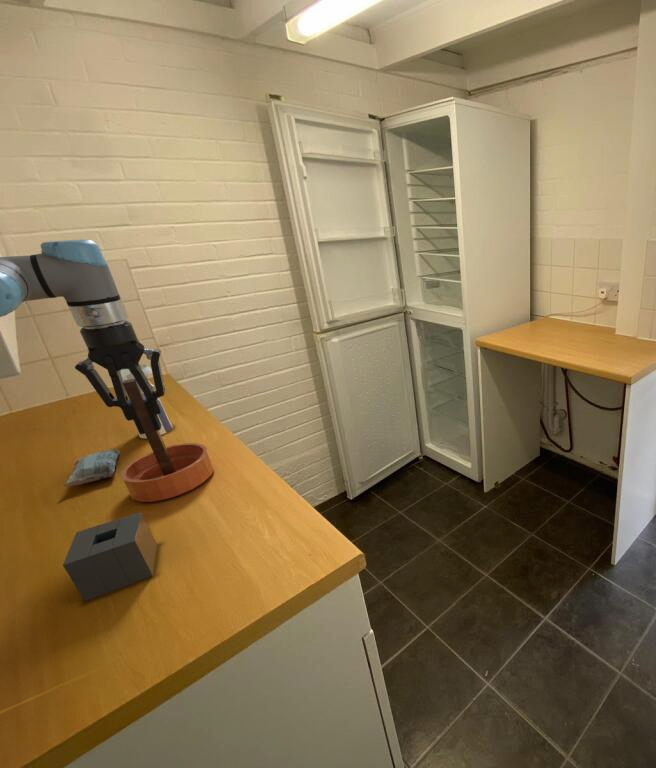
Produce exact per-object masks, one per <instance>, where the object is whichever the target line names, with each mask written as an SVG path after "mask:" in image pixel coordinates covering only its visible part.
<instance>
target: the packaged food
mask: <svg viewBox="0 0 656 768" xmlns="http://www.w3.org/2000/svg"><path fill="white" fill-rule="evenodd" d="M120 457H121V450H119V449H109V450H101V451H97V452H94V453H91V454H90V453H89V454H88V455H86V456H83V457H81V458H79V459H77V460H76V461H75V462H74V468H73V471H72V473H71V474H70V476H69V477H68V479H67V481H66V483H64V484H63V487H71V486H79V485H84V484H89V483H92V482H97V481H101V480H105V479H109V478H112V477H115V475H116V472H117V467H118V463H119V462H120Z"/></svg>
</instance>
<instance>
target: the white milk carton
mask: <svg viewBox="0 0 656 768" xmlns="http://www.w3.org/2000/svg"><path fill="white" fill-rule="evenodd" d="M139 365H140V367H141V369H142V371H143V373H144V375H145V376H146V378H147V380H148V382H149V383H150V385H151V387H152V389H153V390H154V391H155V389H154V388H155V384H152V383H151V382H150V380H149V377H150V376H151V375H153V374H152V369H151V366H149V365H147V364H139ZM120 371H121V376H122V379H123V382H124V380H130V379H135V378H134V376H133V374H132V373H131V372H130V371H129V369H122V370H120ZM142 392H143V391H142ZM126 393H127V392H126ZM143 395H144V393H143ZM127 396H128V394H127ZM144 397H145V395H144ZM128 399H129V397H128ZM145 399H147V398H146V397H145ZM157 400H158V402H159V405H160V407H161V413H160V414H157V415H158V418H159V420H160V422H161V429H160V430H159V432H160V434H161V436H163V435H165V434H167V433H169V432H170V431H172V429H173V425H172V423H171V421H170V419H169V417H168V414H167V412H166V410H165V408H164V405H163V404H162V401H161V400H160V397H159V398H157ZM129 403H131V401H130V399H129ZM132 422H133V424H134V426H135V430H136V432H137V435H138V438H140V439H147V437H146V435H145V434H141V435H140V433H139V431H138V429H137V427H136V425H135V422H134V420H132Z"/></svg>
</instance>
